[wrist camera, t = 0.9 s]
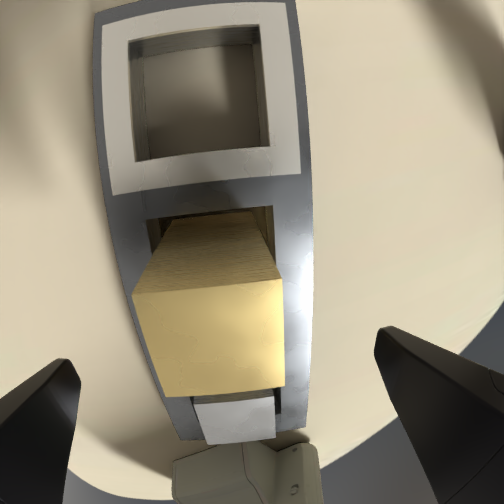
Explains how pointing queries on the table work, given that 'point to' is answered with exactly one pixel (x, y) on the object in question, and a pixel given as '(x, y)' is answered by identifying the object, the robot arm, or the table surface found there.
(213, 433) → the steel peg
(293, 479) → the digital clock
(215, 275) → the brass peg
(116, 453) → the table surface
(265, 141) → the rail
